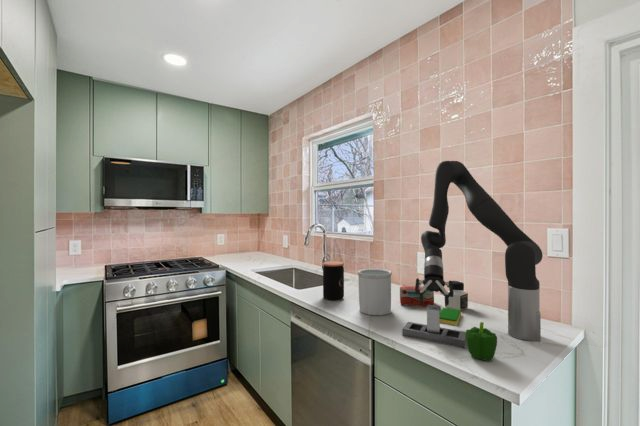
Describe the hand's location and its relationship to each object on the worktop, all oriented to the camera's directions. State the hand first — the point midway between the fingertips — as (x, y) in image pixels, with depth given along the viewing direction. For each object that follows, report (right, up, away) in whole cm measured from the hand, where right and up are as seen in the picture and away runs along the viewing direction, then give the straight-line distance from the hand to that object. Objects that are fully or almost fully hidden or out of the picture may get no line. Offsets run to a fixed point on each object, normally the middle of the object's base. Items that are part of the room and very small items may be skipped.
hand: (434, 304), depth 116 cm
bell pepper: (+5, -8, -26) cm, 27 cm away
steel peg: (-4, -8, -11) cm, 14 cm away
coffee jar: (-37, -8, +37) cm, 53 cm away
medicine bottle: (+18, -8, +21) cm, 29 cm away
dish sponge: (+9, -9, +8) cm, 15 cm away
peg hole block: (-4, -8, -11) cm, 14 cm away
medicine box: (+2, -8, +28) cm, 29 cm away
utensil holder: (-20, -8, +18) cm, 28 cm away
